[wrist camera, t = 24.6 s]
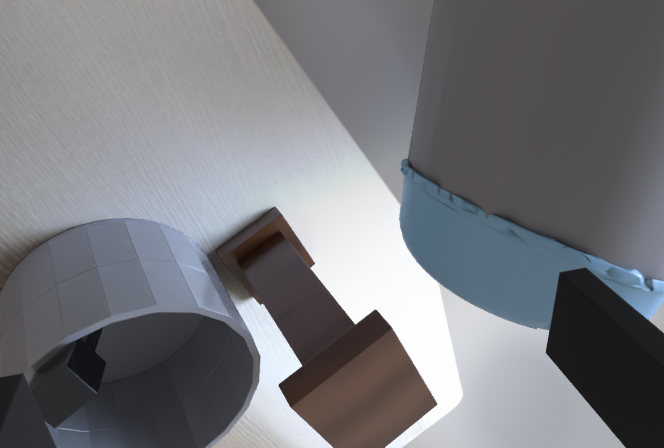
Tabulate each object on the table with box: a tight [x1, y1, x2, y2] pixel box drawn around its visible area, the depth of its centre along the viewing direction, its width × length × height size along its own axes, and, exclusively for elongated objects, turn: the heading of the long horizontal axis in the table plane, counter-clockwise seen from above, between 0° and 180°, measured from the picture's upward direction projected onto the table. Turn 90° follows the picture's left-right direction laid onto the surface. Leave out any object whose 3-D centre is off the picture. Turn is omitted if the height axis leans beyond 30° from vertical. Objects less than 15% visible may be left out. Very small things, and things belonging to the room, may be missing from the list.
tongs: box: [29, 327, 106, 428], centre depth 39 cm, size 16×3×3 cm
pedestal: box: [216, 207, 437, 448], centre depth 45 cm, size 12×8×21 cm, turn 25°
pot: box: [0, 219, 260, 448], centre depth 44 cm, size 18×18×12 cm
